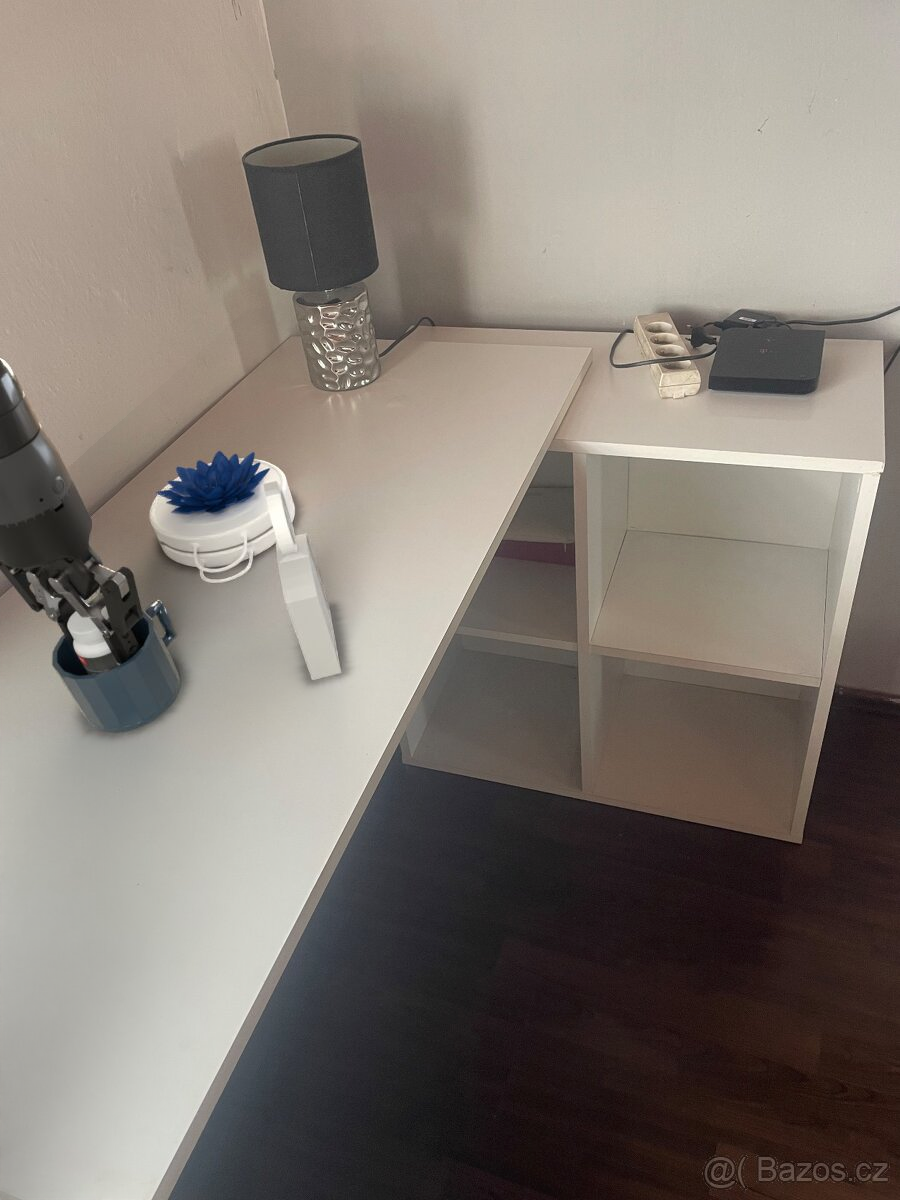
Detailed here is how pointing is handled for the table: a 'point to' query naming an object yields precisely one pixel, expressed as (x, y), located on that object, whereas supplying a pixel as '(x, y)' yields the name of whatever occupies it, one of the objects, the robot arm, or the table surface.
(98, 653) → the pill bottle
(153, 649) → the mug
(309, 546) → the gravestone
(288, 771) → the table surface
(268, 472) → the white round gift box
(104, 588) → the robot arm
